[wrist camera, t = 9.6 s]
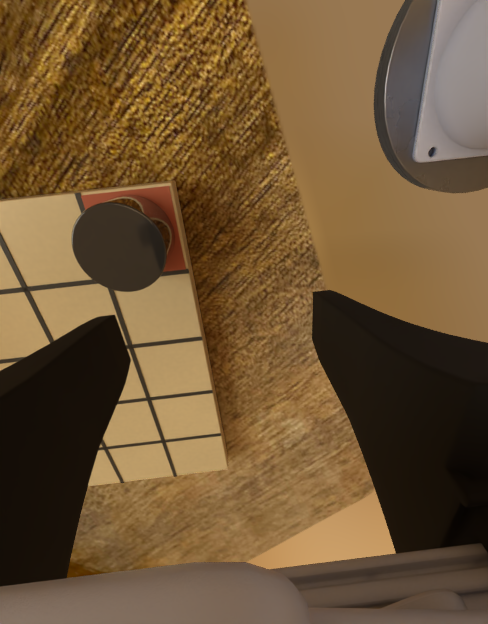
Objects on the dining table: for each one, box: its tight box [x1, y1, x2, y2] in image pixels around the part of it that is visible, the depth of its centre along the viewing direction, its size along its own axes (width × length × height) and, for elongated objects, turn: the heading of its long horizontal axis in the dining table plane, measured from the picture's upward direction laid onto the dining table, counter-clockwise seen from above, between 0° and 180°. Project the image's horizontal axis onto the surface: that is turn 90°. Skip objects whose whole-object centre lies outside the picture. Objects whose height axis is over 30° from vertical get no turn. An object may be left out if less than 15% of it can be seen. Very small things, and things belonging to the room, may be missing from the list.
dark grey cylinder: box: [71, 194, 175, 292], centre depth 15 cm, size 4×4×3 cm
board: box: [0, 180, 228, 486], centre depth 22 cm, size 20×25×2 cm
